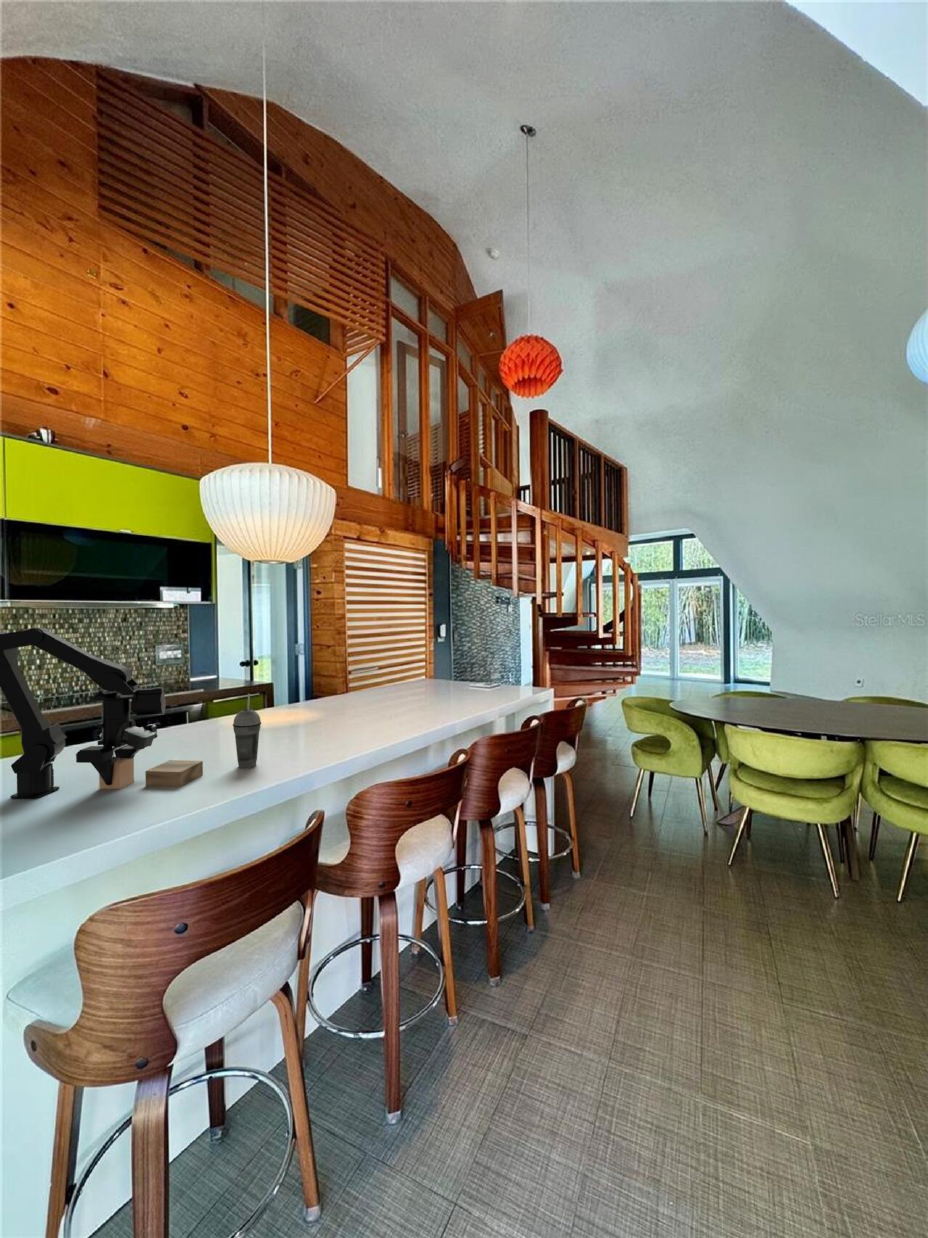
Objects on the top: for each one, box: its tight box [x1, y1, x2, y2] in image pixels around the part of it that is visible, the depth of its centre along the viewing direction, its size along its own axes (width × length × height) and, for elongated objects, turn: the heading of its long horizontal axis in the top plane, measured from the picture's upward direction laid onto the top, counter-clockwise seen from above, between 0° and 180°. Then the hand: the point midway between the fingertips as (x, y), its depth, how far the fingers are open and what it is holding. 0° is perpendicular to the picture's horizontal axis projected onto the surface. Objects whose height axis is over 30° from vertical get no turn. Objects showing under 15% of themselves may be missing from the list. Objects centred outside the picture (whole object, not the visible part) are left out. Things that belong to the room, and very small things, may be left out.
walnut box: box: [144, 759, 204, 788], centre depth 128 cm, size 9×9×4 cm
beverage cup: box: [232, 693, 262, 769], centre depth 140 cm, size 7×7×20 cm
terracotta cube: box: [98, 757, 135, 790], centre depth 125 cm, size 5×5×6 cm
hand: (116, 781), depth 125 cm, fingers closed on terracotta cube, 5 cm apart
